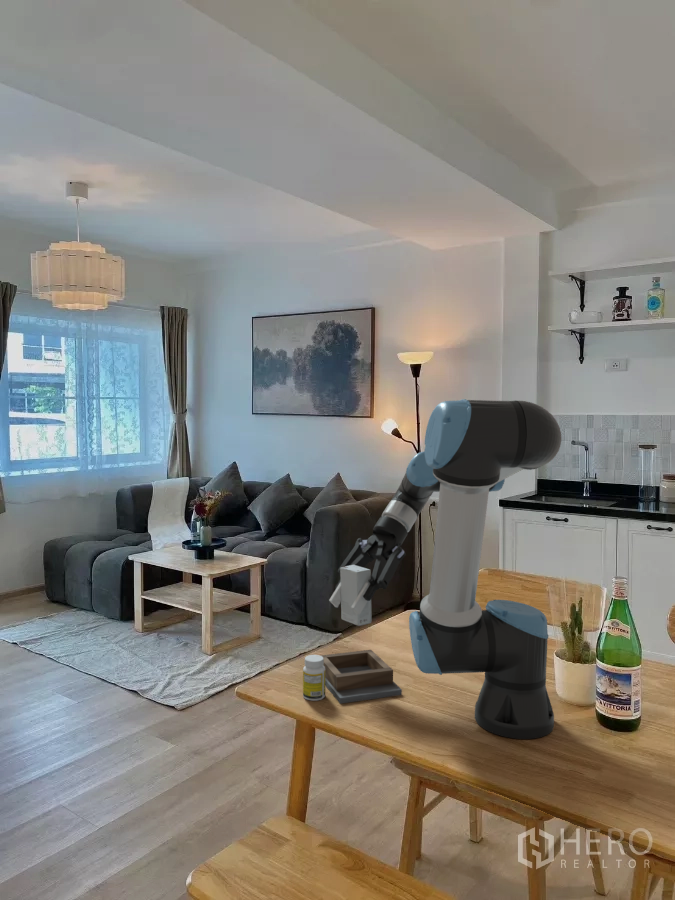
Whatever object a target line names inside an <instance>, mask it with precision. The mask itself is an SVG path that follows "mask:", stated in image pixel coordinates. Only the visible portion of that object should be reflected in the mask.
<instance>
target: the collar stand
mask: <svg viewBox="0 0 675 900" xmlns="http://www.w3.org/2000/svg"><path fill="white" fill-rule="evenodd" d="M320 656H322V657H323V659H324V665H323V666H324V667H325V688H327V689H328V690H329V692H330V693H331V694H332V696H333V697H334V698H335V700H336V701H337V702H338V703H339V704H347V703H348V704H349V703H354V702H355V703H356V702H361V701H368V700H375V699H383V698H389V697H395V696H396V697H397V696H402V695H403V693H402V692H403V691H402V690H403V689H402V688H401V687H400V686H399V685H398V684H396V682H395V681H394V669H393V668H392V667H391V666H389V664H388V663H386V662H385V661H384V660H383V659H382V658H381V657H379V655H377V653H375V652H374V651H373V650H372V649H363V650H355V651H348V652H340V653H332V654H322V655H320Z"/></svg>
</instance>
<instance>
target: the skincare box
mask: <svg viewBox="0 0 675 900" xmlns="http://www.w3.org/2000/svg"><path fill="white" fill-rule="evenodd" d="M339 568H340V567H339ZM371 571H372V570H371V569H369V568H366V567H364V568H363V567H359V566H356V565H349V566H345V567H341V568H340V573H339V576H340V579H341V603H340V608H341V610H340V611H341V615H340V616H341V620H343V621H345V622H347V623H350V624H352V625H355V626H359V627H360V626H364V625H368V624H371V623H372V599H371V600H370V601H367V603H366V605H365V606H364V608H363V610H362V612H361V613H360V615H359V614H357V613H356V612H355V611H354V610H353V609H352V608H351V606H352V605H353V603H354V601H355V600H356V598H357V596H358V595H359V593H360V591H361V590H362V588H363V586H364V585H365V583H369V584H370V582H369V581H370V579H371V576H372V573H371ZM368 580H369V581H368Z"/></svg>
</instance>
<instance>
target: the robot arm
mask: <svg viewBox="0 0 675 900" xmlns="http://www.w3.org/2000/svg"><path fill="white" fill-rule="evenodd" d="M424 445H425V446H424V451H420V452H418V453H416V454H415V455H414V456H413V457H412V458H411V460H410V461H409V463H408V465H407V467H406V470H405V472H404V473H405V474H404V476H403V477H402V479H401V482H400V485H399V486H398V488H397V489H396V492H395V493H394V495H392V498H391V499H390V501H389V503H388V504H387V506H386V507H385V509H384V510H383V512H382V514H381V516H380V517H379V519H378V520H376V521H377V522H376V523H375V525H374V526H373V528H372V535H370V537H368V538H367V539H362V538H361V537H359V538H357V539H356V541H355V544H354V546H353V548H352V549H351V551H350V552H349V554H348V555H347V556H346V558H345V559H344V560H343V562H341V565H340V566H339V567H338V569H337V573H339V574H340V568H341V567H345V566H349V565H356V566H359V567H363V568H366V566H367V565H368V564H369V563H372V562H373V561H375V562H374V567H373V570H372V573H371V579H370V581H369V580H368V581H369V582H370V584H369V583H365V585H364V586H363V588H362V590H361V591H360V593H359V595H358V596H357V598H356V600H355V601H354V603H353V605H352V606H351V608H352V609H353V610H354V611H355V612H356V613H357V614H359V615H360V613H361V612H362V610H363V608H364V606H365V605H366V603H367V601H370V600H371V601H372V598H373V596H374V595H375V593H376V591H377V590H380V589H383V590H385V589H387V588H388V586H389V584H390V583H391V580H392V578H393V576H394V575H395V572H396V571H397V568H398V567H399V565H400V563H401V561H402V560H403V559H404V558H405V557H406V555H407V553H406V552H405V550H404V549H403V548H402V547H401V546H402V545H403V543H404V541H405V539H406V537H407V536H408V533H409V532H410V531H411V530H412V527H413V525H414V524H415V522H416V521H417V519H418V518H419V515H420V513H421V512H422V510H423V509H424V507H425V505H426V504H427V502H428V501H429V499H430V497H431V496H432V495H433V494H434V493H435V492H437V493H439V494H438V502H437V503H438V504H437V513H436V525H435V534H434V535H435V536H434V543H433V544H434V545H433V554H432V564H431V565H432V566H431V576H430V586H429V593H428V594H427V595H425V596H424V597H423V598H422V599H421V601H420V604H419V610H414V611H412V612H411V613H410V614H409V617H408V627H409V635H410V643H411V649H412V653H413V657H414V661H415V665H416V666H417V668H418V670H419V671H420V672H421V673H423V674H435V675H441V676H442V675H444V674H445V675H446V674H468V673H469V674H473V673H477V674H478V673H484V680H483V684H482V686H481V689H480V692H479V693H478V694H479V695H478V698H477V700H476V702H475V705H474V720H475V721H476V723H477V725H478V726H479V727H481V728H483V730H486V731H488V732H490V733H492V734H495V735H496V736H501V737H505V738H510V739H518V740H519V739H520V740H533V739H539V738H542V737H546V736H548V735H549V734H551V732H552V731H553V730H554V727H555V713H554V710H553V706H552V703H551V700H550V697H549V693H548V691H547V685H546V684H547V682H546V681H547V659H548V658H547V657H548V639H549V634H548V619H547V617H546V615H545V613H543V611H542V610H540V609H538V608H536V607H534V606H531V605H529V604H526V603H522V602H519V601H513V600H509V599H508V600H507V599H493V600H489V601H487V603H486V605H485V609H483V610H482V607H481V605H480V603H478V602H477V601H476V595H477V588H478V583H479V582H478V580H479V574H480V573H479V572H480V565H481V558H482V557H481V555H482V549H483V541H484V533H485V525H486V517H487V516H486V515H487V510H488V509H487V507H488V501H489V492H499V491H500V490H501V489H502V488H503V486H504V484H505V480H506V479H508V478H509V477H511V476H513V475H515V474H518V473H520V472H521V471H523V470H525V471H526V470H527V471H529V470H530V471H531V470H532V471H533V470H536V469H539V468H541V467H543V466H545V465H547V464H549V463H550V462H551V461H552V460H553V459H554V458H556V456H557V454H558V452H559V451H560V448H561V445H562V432H561V428H560V426H559V423H558V422H557V420H556V418H555V417H554V416H553V414H552V413H551V412H549V411H548V410H547V409H546V408H544V407H543V406H541V405H539V404H536V403H534V402H530V401H527V400H484V399H483V400H481V399H479V400H478V399H477V400H476V399H465V398H463V399H459V400H458V399H457V400H445V401H441V402H439V403H438V404H437V405H436V406H435V407H434V409H433V410H432V412H431V414H430V415H429V419H428V422H427V426H426V430H425V436H424ZM334 588H335V590H334V591H333V593H332V595H331V596H330V598H329V599H328V601H329V603H331V605H333V606H334V608H339V606H340V605H341V578H340V579H339V580H338V583H336V585H335V587H334Z"/></svg>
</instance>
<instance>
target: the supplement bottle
mask: <svg viewBox="0 0 675 900" xmlns="http://www.w3.org/2000/svg"><path fill="white" fill-rule="evenodd" d="M323 665H324V659H323V657H322V656H320V655H319V654H309V655H306V656H305V657H304V666H303V668H302V696H303V698H304V699H305V700H308V701H313V702H316V701H322V700H323V699H324V698H325V697H326V686H325V667H324V666H323Z"/></svg>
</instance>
